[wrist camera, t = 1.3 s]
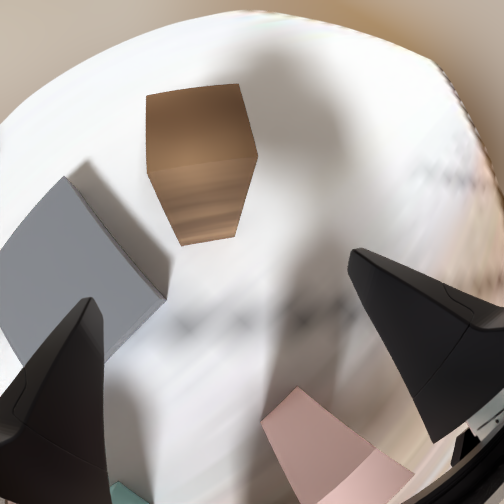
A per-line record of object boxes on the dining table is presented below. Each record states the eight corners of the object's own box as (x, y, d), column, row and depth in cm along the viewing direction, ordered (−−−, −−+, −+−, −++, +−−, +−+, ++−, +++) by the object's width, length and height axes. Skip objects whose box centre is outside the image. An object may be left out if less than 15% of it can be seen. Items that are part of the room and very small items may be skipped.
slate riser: (166, 300, 21) (159, 298, 18) (69, 399, 17) (54, 408, 14) (77, 189, 22) (64, 175, 19) (-3, 285, 18) (-20, 282, 15)
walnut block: (234, 236, 23) (258, 156, 11) (180, 246, 22) (146, 173, 10) (225, 188, 23) (238, 83, 11) (174, 196, 23) (146, 95, 11)
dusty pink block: (330, 412, 20) (415, 473, 8) (295, 447, 19) (356, 529, 7) (297, 385, 21) (376, 447, 9) (260, 422, 20) (304, 512, 8)
